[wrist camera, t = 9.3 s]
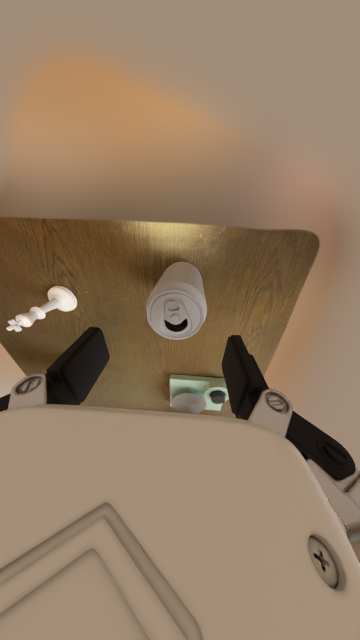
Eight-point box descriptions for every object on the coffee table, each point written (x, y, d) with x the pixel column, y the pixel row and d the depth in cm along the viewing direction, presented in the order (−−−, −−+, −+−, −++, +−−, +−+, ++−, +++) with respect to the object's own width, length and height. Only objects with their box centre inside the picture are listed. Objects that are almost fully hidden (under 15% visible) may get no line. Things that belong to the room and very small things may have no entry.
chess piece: (68, 284, 27) (10, 310, 18) (82, 308, 29) (36, 342, 21) (44, 287, 27) (-23, 314, 19) (59, 311, 30) (6, 344, 21)
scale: (230, 377, 36) (233, 388, 34) (221, 405, 43) (223, 417, 41) (170, 372, 37) (168, 383, 35) (170, 401, 44) (169, 412, 41)
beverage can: (166, 300, 27) (150, 344, 17) (159, 262, 24) (134, 289, 13) (202, 297, 26) (208, 342, 16) (200, 258, 23) (207, 282, 13)
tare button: (225, 390, 35) (226, 396, 34) (222, 398, 37) (223, 404, 35) (211, 389, 35) (212, 395, 34) (209, 397, 37) (210, 403, 36)
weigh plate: (208, 394, 36) (209, 395, 36) (204, 414, 40) (204, 415, 40) (171, 391, 36) (170, 392, 36) (171, 411, 41) (171, 412, 41)
